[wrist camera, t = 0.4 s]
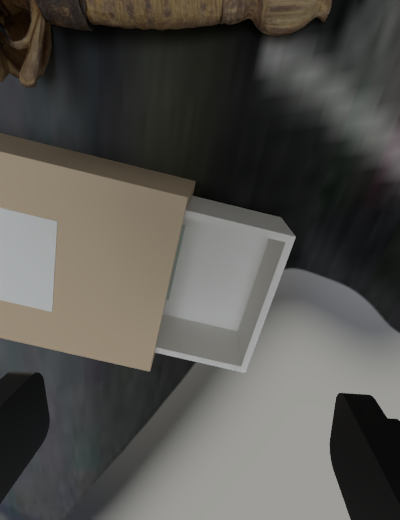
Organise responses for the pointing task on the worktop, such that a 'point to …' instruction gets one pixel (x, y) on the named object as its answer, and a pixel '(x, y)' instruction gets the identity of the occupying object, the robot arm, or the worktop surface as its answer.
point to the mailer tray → (222, 283)
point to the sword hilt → (132, 22)
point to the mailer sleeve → (85, 251)
